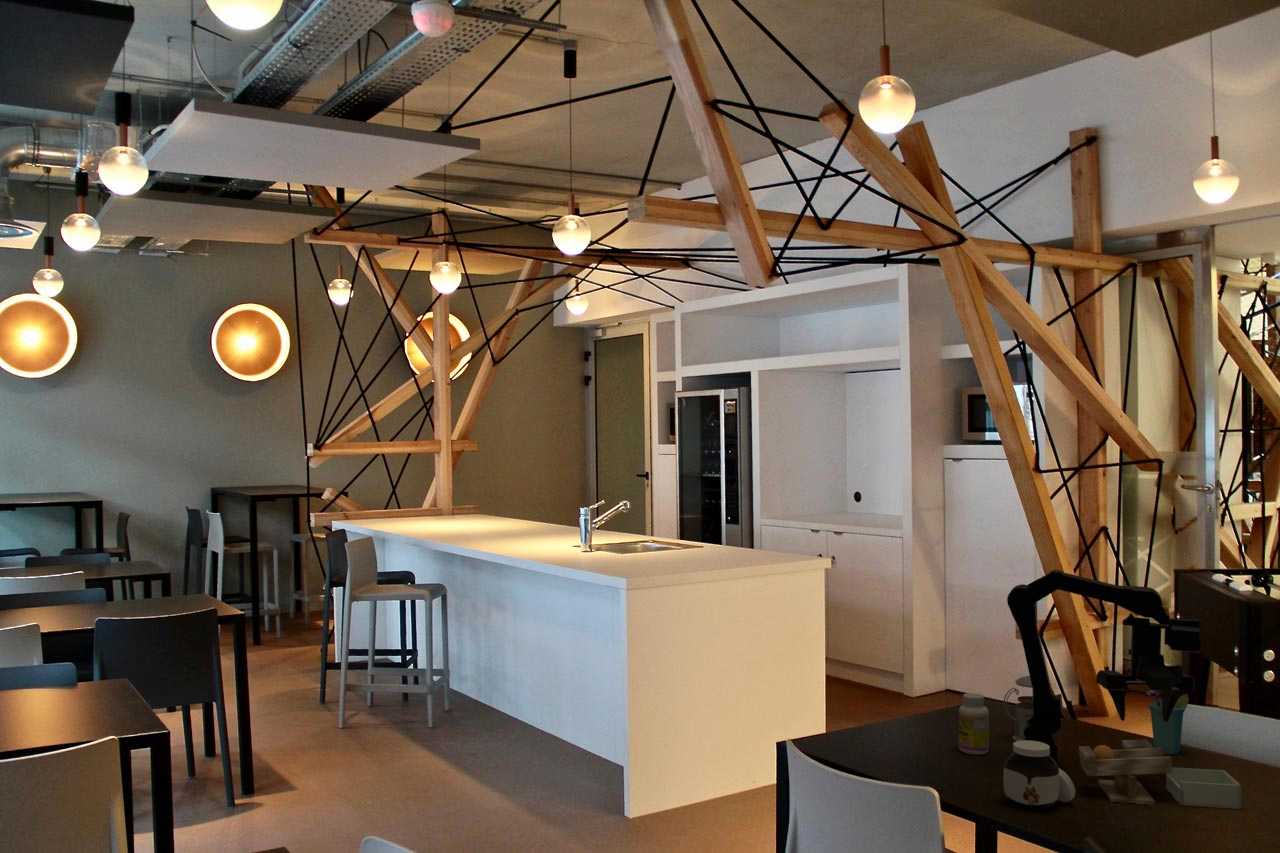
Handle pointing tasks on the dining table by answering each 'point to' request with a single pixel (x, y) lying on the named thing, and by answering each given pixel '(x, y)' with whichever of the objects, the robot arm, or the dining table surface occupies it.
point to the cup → (1167, 724)
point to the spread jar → (1035, 777)
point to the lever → (1127, 760)
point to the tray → (1204, 788)
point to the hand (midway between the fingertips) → (1143, 720)
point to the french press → (1021, 713)
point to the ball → (1103, 752)
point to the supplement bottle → (973, 725)
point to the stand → (1126, 790)
